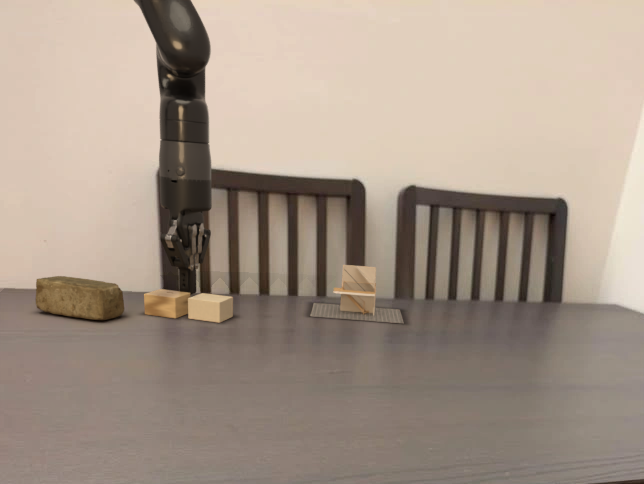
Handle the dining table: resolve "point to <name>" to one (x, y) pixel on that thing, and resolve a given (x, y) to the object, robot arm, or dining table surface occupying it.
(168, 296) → the birch block
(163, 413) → the dining table surface
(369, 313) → the architectural model
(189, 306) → the cream block
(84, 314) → the stone block
